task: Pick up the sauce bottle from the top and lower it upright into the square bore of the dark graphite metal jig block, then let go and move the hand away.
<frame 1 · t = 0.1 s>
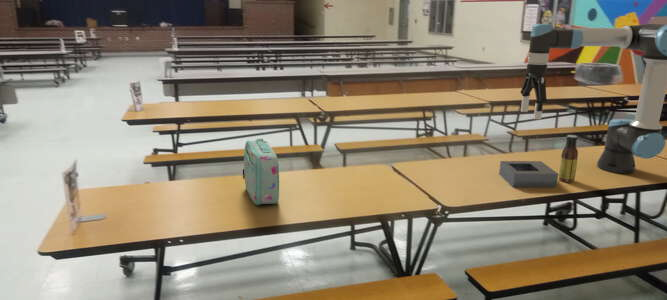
hand: (530, 115, 194), 28 cm above the table, tool pointing down, fingers open, 13 cm apart
jig: (526, 180, 200), on the table
lunch box: (261, 196, 182), on the table
sauce bottle: (565, 181, 201), on the table
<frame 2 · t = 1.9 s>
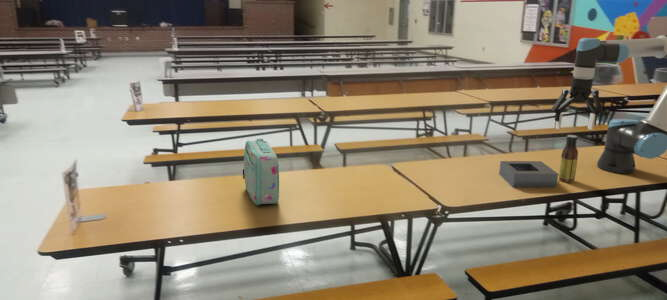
hand: (573, 129, 194), 23 cm above the table, tool pointing down, fingers open, 13 cm apart
nothing on the table moved.
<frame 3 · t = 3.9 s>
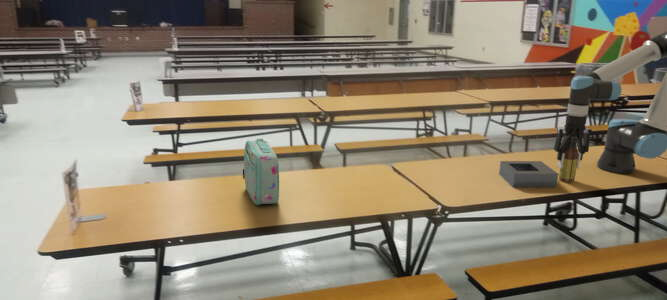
hand: (568, 167, 199), 6 cm above the table, tool pointing down, fingers closed on sauce bottle, 6 cm apart
sauce bottle: (565, 181, 201), on the table, touching gripper
everything else where it was.
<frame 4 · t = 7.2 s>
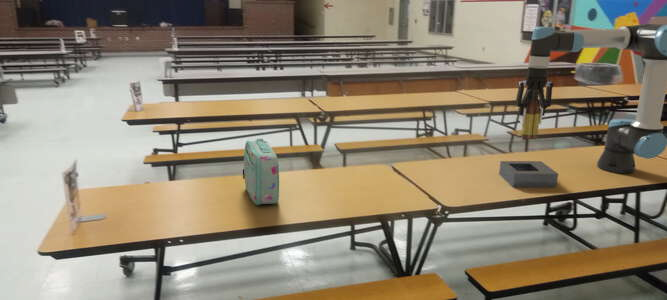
hand: (530, 123, 193), 25 cm above the table, tool pointing down, fingers closed on sauce bottle, 6 cm apart
sauce bottle: (528, 137, 194), point 19 cm above the table, touching gripper
everything else where it was.
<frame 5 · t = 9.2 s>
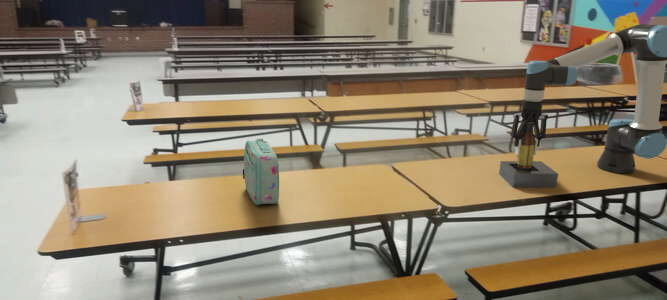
hand: (525, 153, 197), 12 cm above the table, tool pointing down, fingers closed on sauce bottle, 6 cm apart
sauce bottle: (523, 167, 198), point 6 cm above the table, touching gripper
everything else where it was.
when the fingers open (7 cm above the table, at t = 10.8 s): sauce bottle drops 1 cm, resting in jig.
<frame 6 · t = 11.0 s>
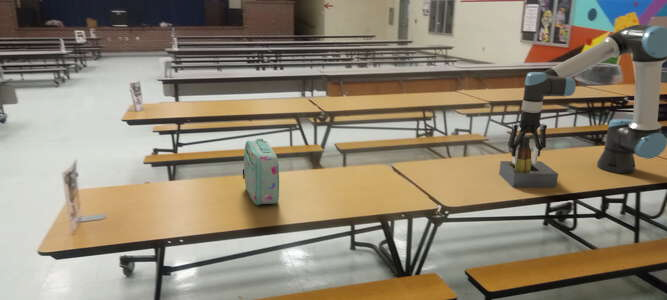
hand: (524, 163, 198), 8 cm above the table, tool pointing down, fingers open, 8 cm apart
sauce bottle: (521, 180, 200), resting in jig, touching gripper
everything else where it was.
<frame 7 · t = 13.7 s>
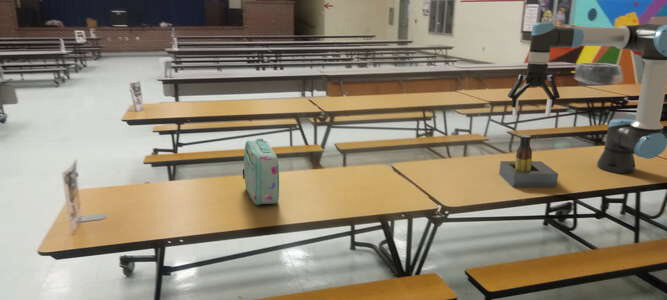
hand: (531, 115, 192), 29 cm above the table, tool pointing down, fingers open, 13 cm apart
sauce bottle: (521, 180, 200), resting in jig
everything else where it was.
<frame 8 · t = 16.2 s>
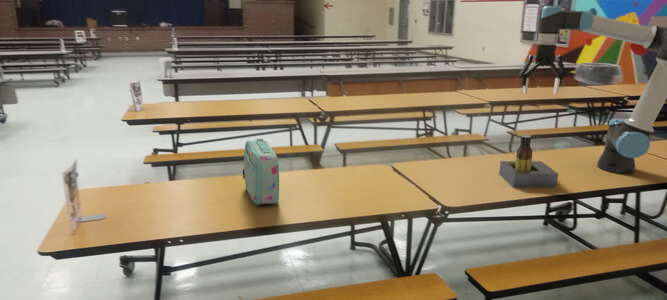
hand: (540, 93, 205), 35 cm above the table, tool pointing down, fingers open, 13 cm apart
nothing on the table moved.
at the end: sauce bottle 0.2 cm from the target spot on the jig, point 0.0 cm above the jig's base; sauce bottle tilted 1°; the gripper is holding nothing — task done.
